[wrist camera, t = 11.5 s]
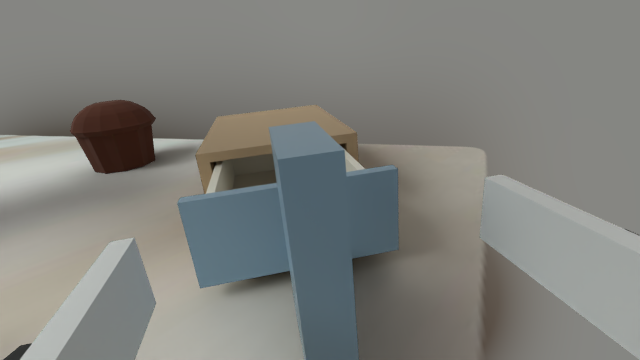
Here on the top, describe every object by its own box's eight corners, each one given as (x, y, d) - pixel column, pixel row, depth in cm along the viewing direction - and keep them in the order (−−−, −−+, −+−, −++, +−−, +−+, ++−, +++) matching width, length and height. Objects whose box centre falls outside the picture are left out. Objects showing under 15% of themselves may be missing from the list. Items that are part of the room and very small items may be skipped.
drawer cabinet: (360, 203, 32) (356, 132, 30) (212, 228, 30) (195, 154, 28) (320, 151, 51) (316, 104, 48) (227, 164, 49) (217, 116, 46)
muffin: (78, 182, 47) (52, 111, 44) (90, 163, 57) (68, 104, 53) (167, 164, 52) (150, 99, 48) (164, 149, 61) (150, 94, 58)
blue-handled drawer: (484, 358, 14) (509, 126, 11) (166, 440, 12) (69, 189, 9) (332, 164, 41) (325, 78, 37) (223, 180, 39) (205, 92, 35)
